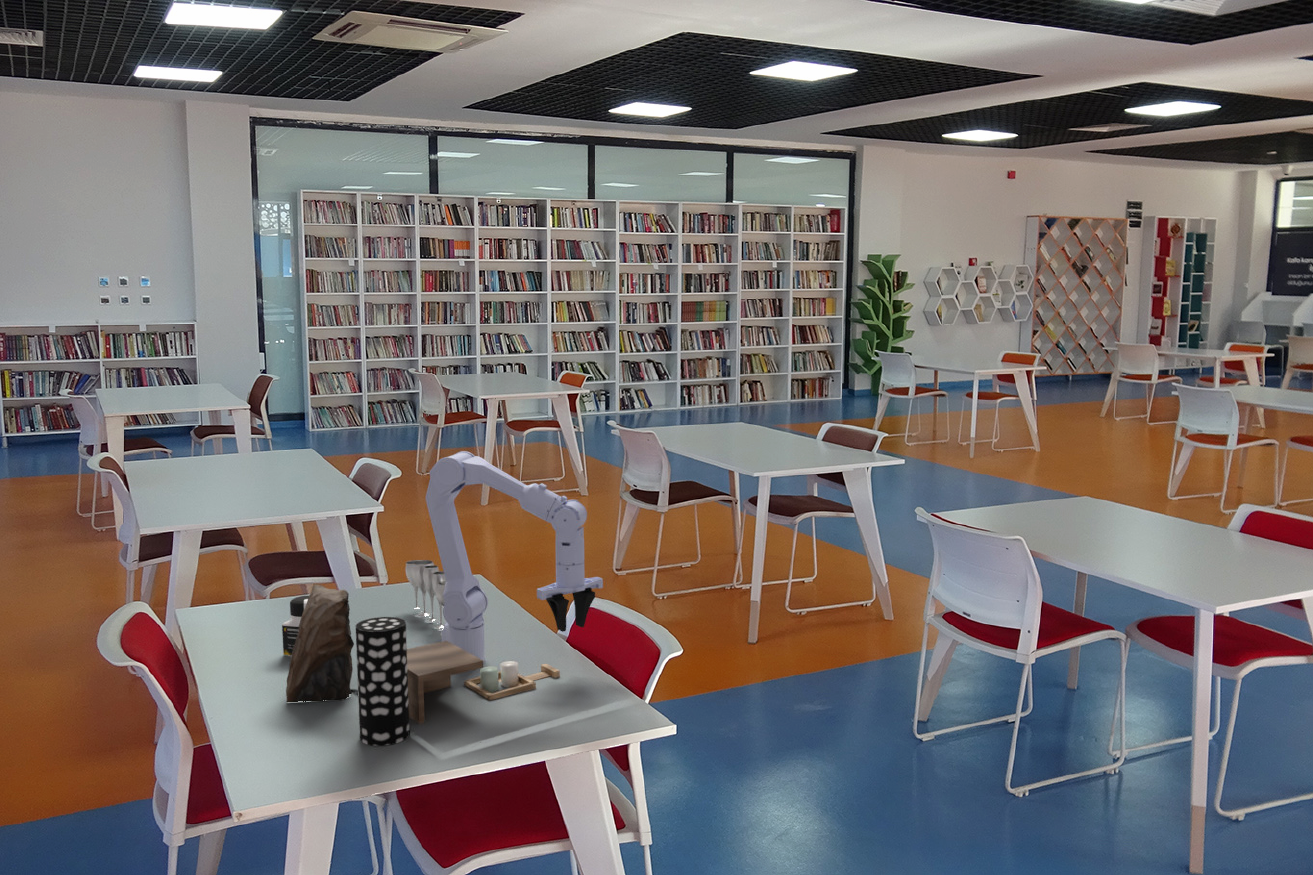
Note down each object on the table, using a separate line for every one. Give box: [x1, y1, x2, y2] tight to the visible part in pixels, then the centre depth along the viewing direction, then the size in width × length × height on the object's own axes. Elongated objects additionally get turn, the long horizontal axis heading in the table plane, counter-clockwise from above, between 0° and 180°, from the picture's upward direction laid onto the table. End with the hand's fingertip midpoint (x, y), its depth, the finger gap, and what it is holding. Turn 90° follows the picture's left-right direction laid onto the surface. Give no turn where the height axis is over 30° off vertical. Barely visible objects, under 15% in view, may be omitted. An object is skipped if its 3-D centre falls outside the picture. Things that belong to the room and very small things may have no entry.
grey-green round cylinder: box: [479, 665, 500, 693], centre depth 201 cm, size 3×3×4 cm
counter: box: [407, 640, 484, 725], centre depth 194 cm, size 14×13×10 cm
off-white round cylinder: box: [499, 660, 519, 688], centre depth 204 cm, size 3×3×4 cm
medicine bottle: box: [281, 595, 309, 657], centre depth 225 cm, size 7×7×12 cm
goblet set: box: [405, 559, 446, 637], centre depth 247 cm, size 28×6×13 cm, turn 32°
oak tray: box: [463, 663, 561, 701], centre depth 205 cm, size 10×17×2 cm, turn 128°
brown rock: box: [285, 583, 355, 702], centre depth 202 cm, size 13×13×20 cm
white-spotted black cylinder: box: [355, 616, 410, 747], centre depth 181 cm, size 8×8×20 cm
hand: (570, 628), depth 212 cm, fingers open, 4 cm apart
